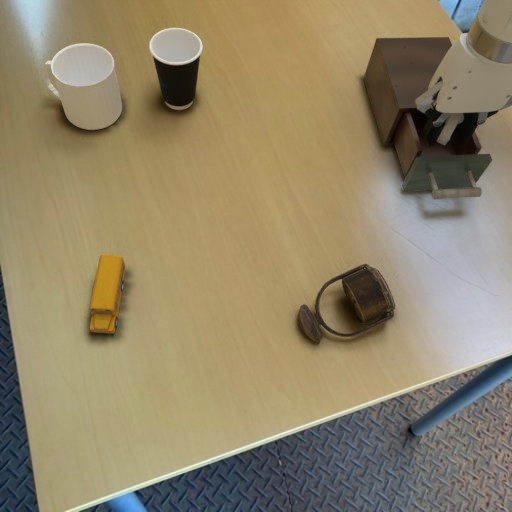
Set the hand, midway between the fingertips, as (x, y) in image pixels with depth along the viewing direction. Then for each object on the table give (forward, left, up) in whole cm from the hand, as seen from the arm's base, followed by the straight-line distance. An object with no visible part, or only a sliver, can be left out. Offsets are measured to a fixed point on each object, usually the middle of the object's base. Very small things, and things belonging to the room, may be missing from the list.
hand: (445, 136), depth 82 cm
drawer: (0, 0, -6) cm, 6 cm away
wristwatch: (0, 0, -1) cm, 1 cm away
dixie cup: (+39, -16, -7) cm, 43 cm away
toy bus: (+50, +20, -7) cm, 54 cm away
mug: (+54, -15, -7) cm, 57 cm away
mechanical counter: (+19, +24, -7) cm, 31 cm away
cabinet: (0, -12, -7) cm, 14 cm away
